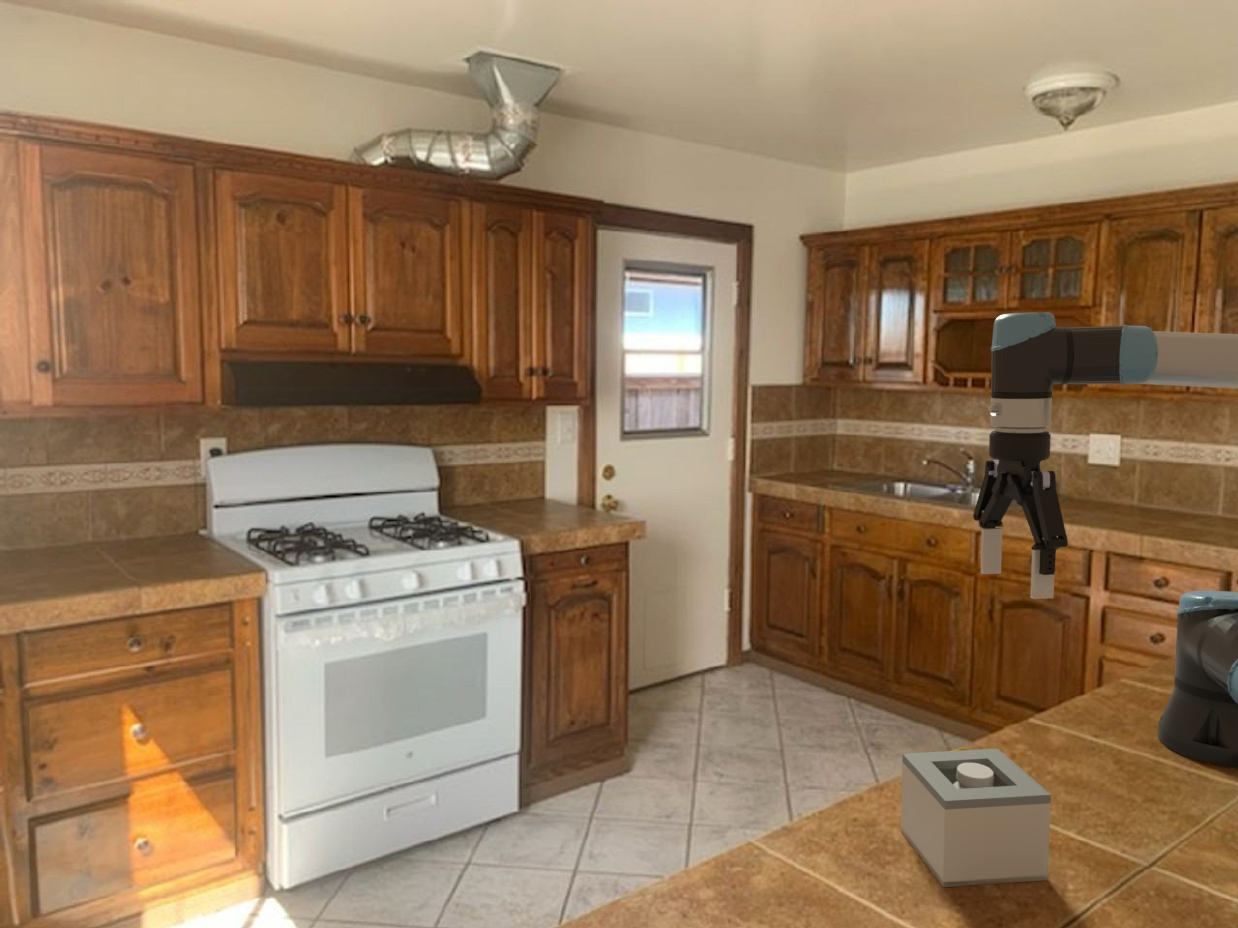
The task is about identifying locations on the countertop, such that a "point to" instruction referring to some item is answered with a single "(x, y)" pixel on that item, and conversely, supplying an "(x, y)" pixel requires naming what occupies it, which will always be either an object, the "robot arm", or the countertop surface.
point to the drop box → (975, 819)
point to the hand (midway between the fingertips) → (1014, 585)
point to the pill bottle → (973, 776)
